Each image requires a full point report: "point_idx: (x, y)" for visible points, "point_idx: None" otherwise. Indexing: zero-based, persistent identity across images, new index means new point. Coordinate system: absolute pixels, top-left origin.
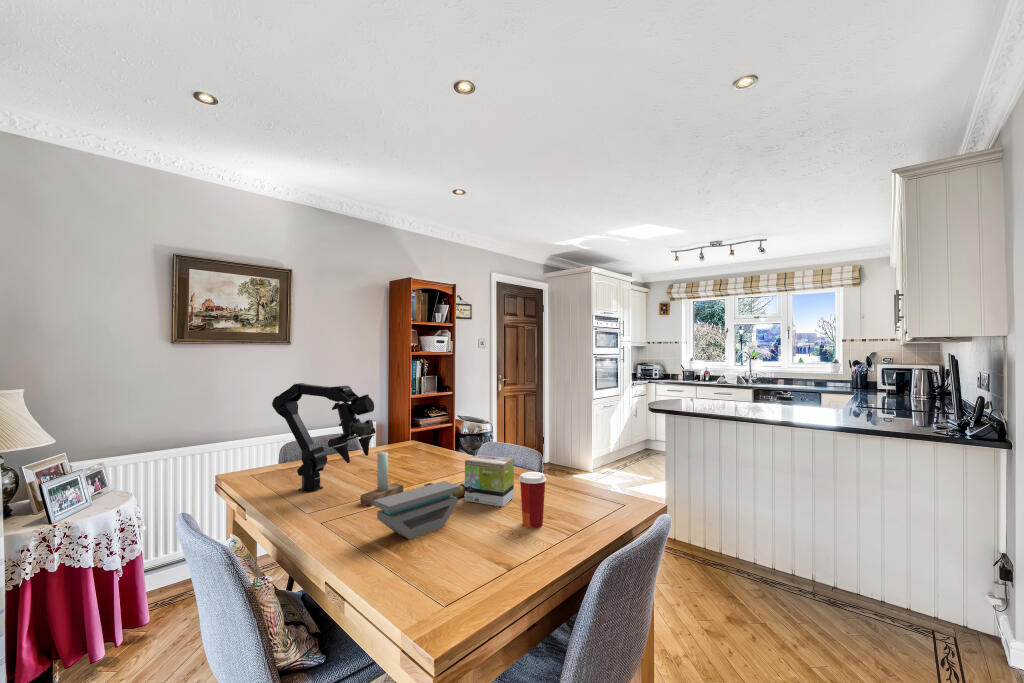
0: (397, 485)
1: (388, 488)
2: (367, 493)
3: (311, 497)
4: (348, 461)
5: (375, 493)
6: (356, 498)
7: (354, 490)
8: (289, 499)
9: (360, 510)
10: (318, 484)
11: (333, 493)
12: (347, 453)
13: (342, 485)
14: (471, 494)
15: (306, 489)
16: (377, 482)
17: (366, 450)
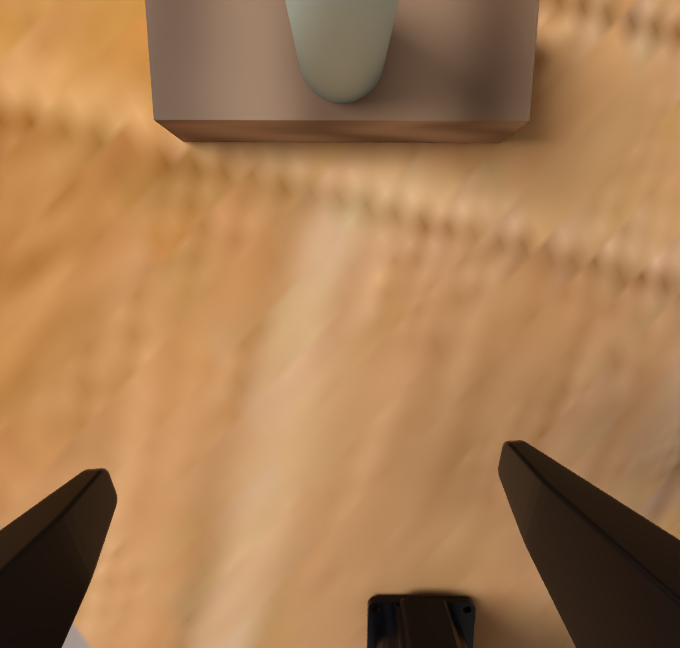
0: (183, 27)
1: (287, 37)
2: (470, 103)
3: None
4: (535, 455)
5: (443, 36)
6: (422, 259)
7: (305, 400)
8: None
9: (599, 36)
10: (419, 621)
11: (412, 468)
12: (671, 565)
13: (268, 544)
14: None
15: (465, 637)
16: (384, 44)
17: (44, 552)
